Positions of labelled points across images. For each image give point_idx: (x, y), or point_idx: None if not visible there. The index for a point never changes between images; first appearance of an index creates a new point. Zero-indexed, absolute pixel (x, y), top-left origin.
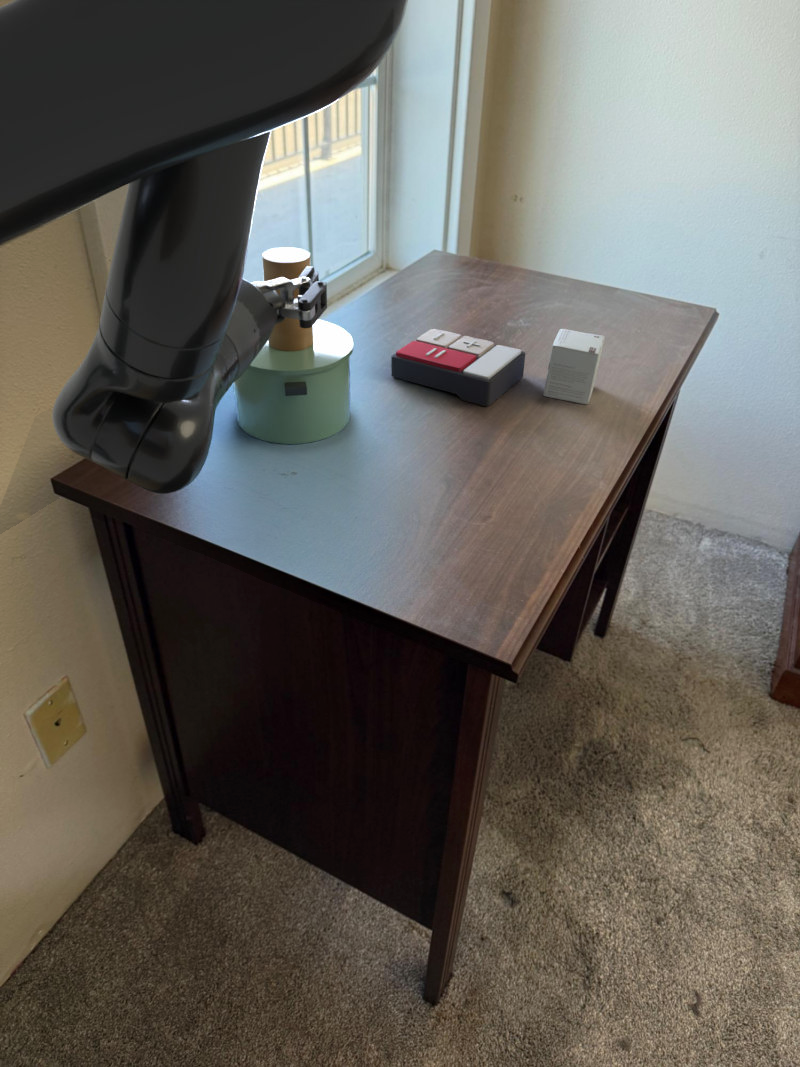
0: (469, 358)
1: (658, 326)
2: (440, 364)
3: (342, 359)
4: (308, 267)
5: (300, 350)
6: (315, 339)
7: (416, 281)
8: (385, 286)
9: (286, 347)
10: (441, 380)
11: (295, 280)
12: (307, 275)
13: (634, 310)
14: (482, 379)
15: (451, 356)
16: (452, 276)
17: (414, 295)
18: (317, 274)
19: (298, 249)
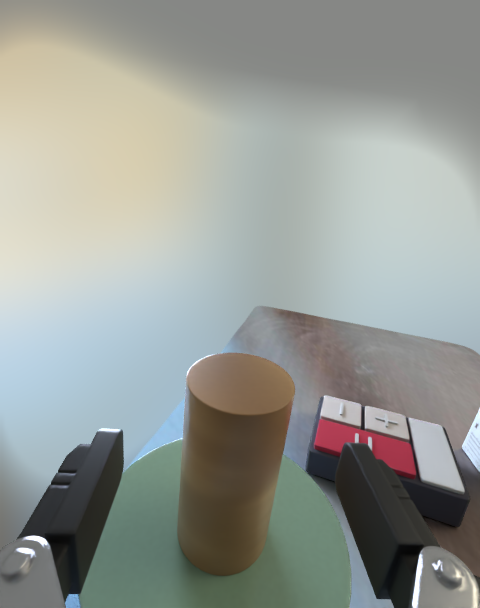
0: (408, 450)
1: (461, 366)
2: None
3: (350, 584)
4: (360, 451)
5: (253, 563)
6: None
7: (256, 329)
8: (235, 335)
9: (227, 570)
10: None
11: (431, 599)
12: (404, 511)
13: (427, 350)
14: (457, 495)
15: (385, 448)
16: (279, 324)
17: (262, 343)
18: (398, 478)
19: (254, 358)
